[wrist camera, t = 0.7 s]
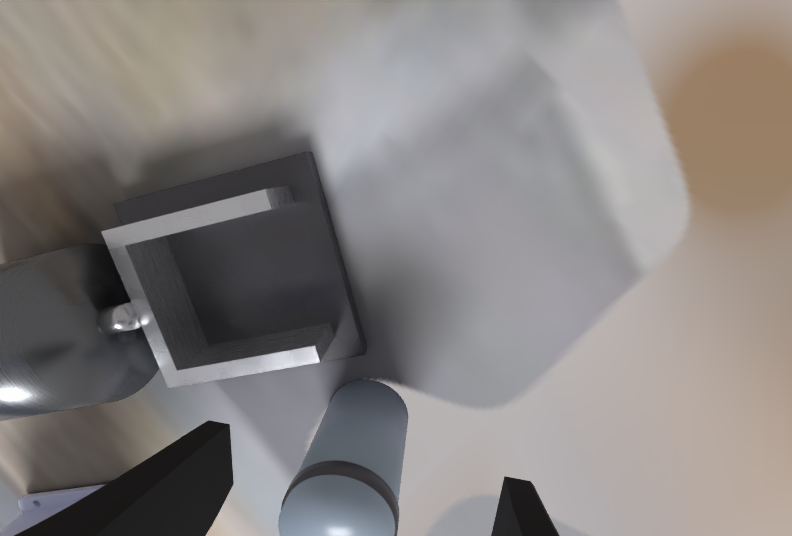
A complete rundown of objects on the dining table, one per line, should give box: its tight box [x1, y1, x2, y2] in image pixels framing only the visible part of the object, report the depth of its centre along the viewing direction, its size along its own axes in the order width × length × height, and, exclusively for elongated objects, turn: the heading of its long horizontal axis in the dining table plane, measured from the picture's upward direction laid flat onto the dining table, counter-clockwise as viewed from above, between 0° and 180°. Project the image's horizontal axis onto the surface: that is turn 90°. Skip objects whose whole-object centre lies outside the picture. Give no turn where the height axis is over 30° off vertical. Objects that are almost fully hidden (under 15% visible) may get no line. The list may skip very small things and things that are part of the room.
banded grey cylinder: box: [278, 380, 408, 536], centre depth 18 cm, size 5×5×7 cm
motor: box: [0, 152, 367, 421], centre depth 17 cm, size 19×10×7 cm, turn 104°
